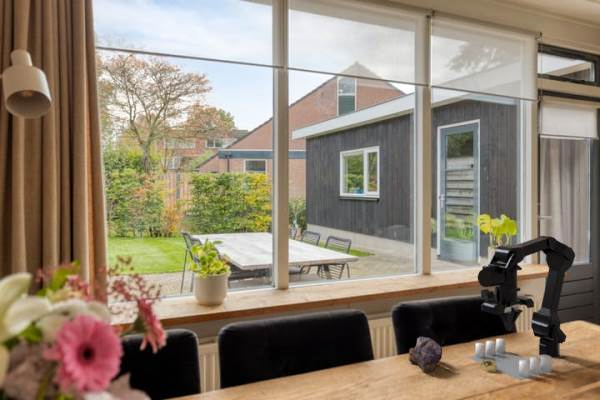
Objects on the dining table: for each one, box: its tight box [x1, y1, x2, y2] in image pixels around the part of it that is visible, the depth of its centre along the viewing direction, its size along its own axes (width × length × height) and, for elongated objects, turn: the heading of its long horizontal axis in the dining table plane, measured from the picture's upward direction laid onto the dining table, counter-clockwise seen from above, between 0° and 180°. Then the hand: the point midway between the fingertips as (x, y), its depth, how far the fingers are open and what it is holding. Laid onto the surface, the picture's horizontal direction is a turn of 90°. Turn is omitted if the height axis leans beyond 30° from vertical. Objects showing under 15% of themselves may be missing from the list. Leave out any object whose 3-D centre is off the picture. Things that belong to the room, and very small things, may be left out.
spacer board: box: [468, 338, 555, 381], centre depth 140 cm, size 16×20×5 cm
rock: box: [408, 336, 443, 373], centre depth 141 cm, size 12×9×10 cm
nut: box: [479, 359, 498, 373], centre depth 136 cm, size 4×5×2 cm
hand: (508, 330), depth 142 cm, fingers closed
